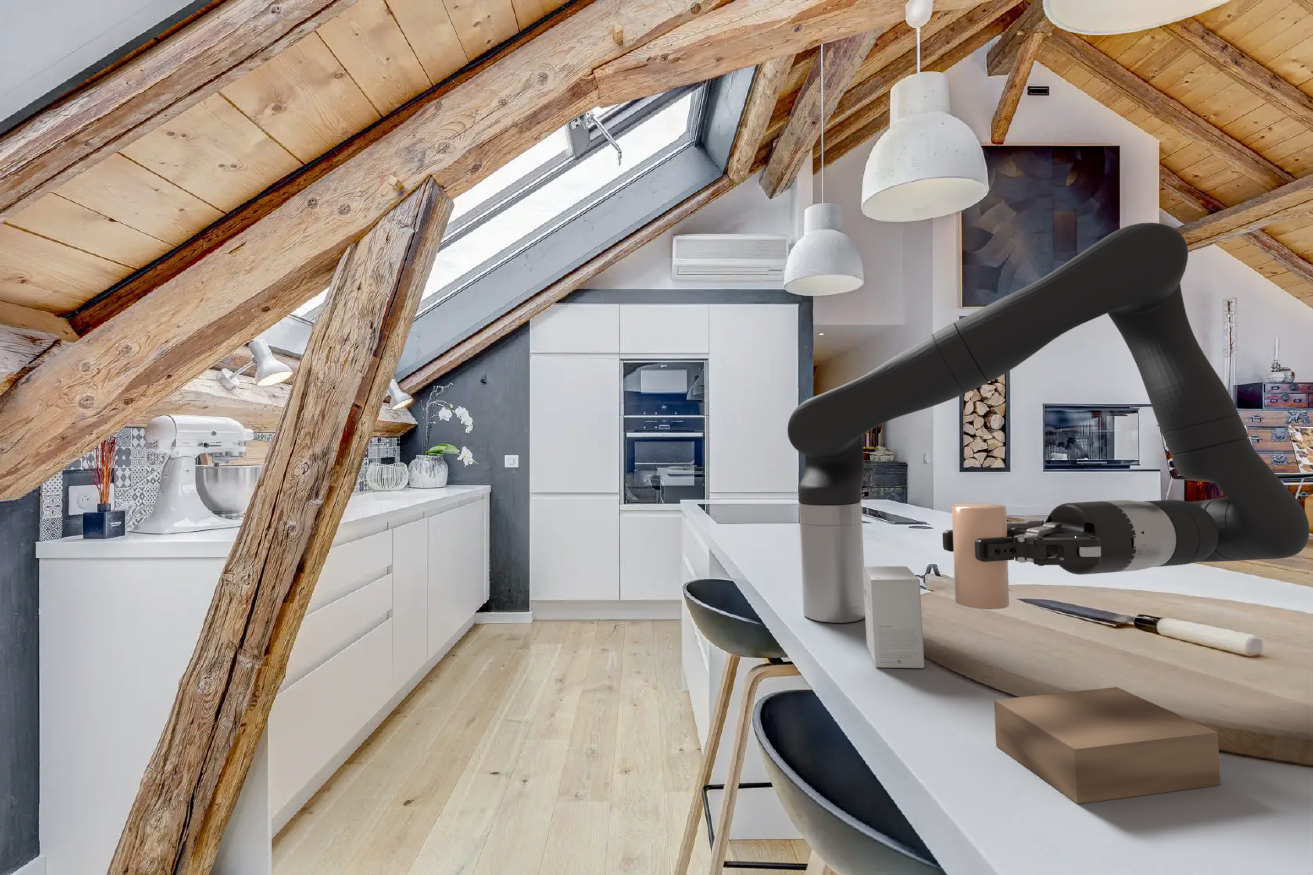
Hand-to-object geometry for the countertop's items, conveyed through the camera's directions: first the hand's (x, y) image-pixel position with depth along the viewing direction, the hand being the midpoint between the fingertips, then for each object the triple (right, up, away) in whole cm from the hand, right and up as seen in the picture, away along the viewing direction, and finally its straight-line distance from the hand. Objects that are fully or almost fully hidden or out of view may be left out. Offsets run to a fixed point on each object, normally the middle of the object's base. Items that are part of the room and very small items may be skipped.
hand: (961, 545), depth 66 cm
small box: (-2, -16, +13) cm, 21 cm away
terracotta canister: (+2, -6, 0) cm, 6 cm away
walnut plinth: (+5, -16, -14) cm, 21 cm away
